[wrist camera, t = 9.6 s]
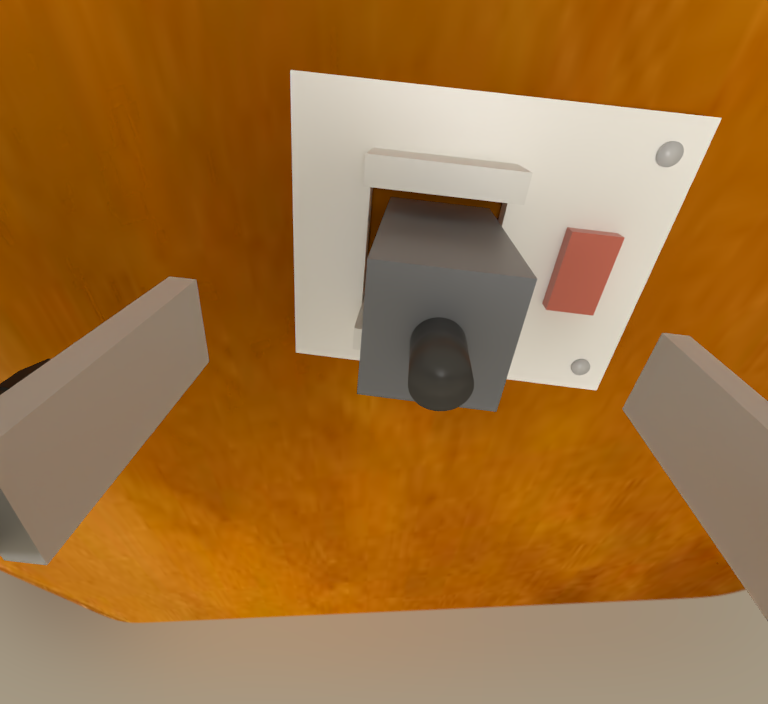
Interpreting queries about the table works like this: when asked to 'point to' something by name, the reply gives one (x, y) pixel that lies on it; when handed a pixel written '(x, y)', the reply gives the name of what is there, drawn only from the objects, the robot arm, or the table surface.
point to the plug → (441, 306)
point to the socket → (490, 183)
